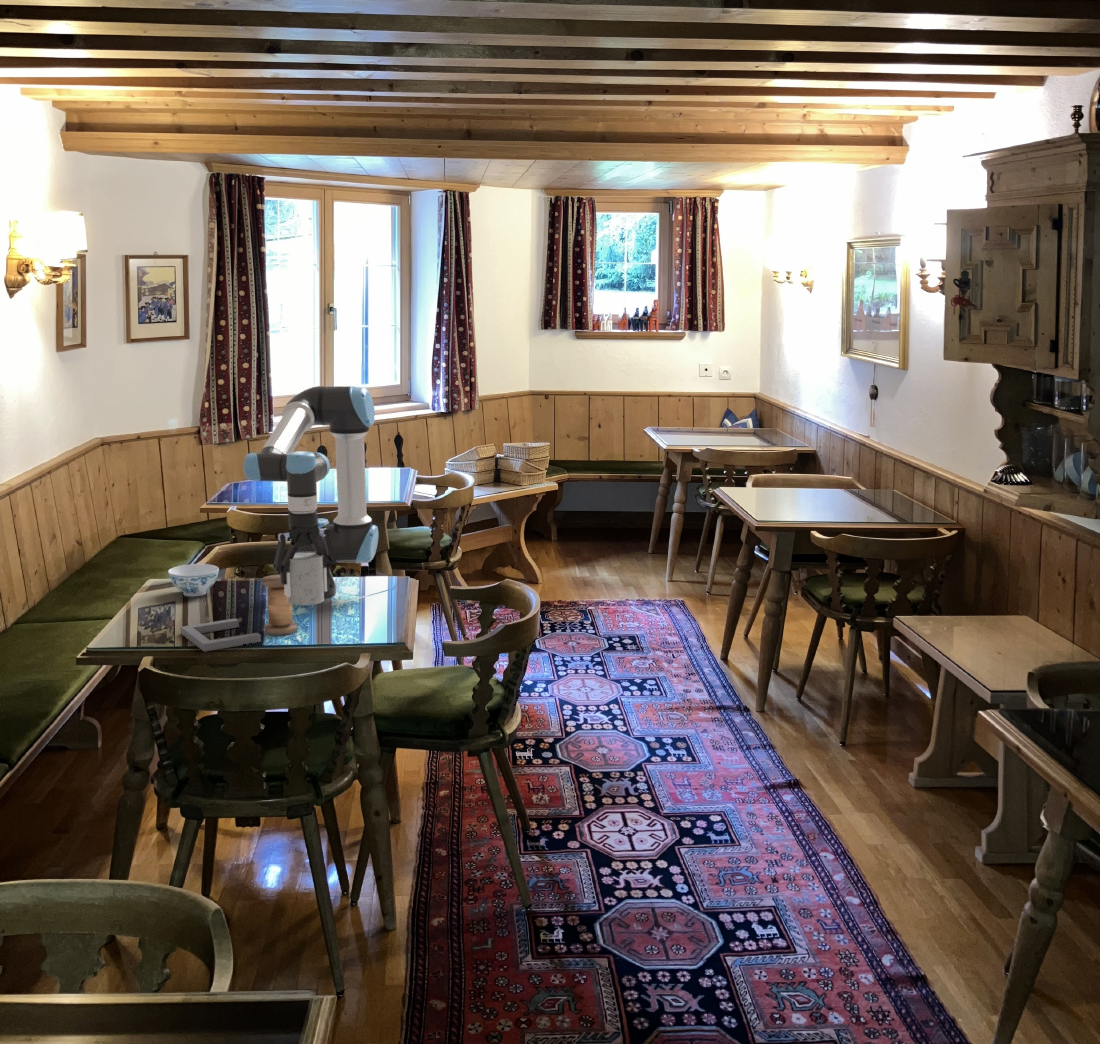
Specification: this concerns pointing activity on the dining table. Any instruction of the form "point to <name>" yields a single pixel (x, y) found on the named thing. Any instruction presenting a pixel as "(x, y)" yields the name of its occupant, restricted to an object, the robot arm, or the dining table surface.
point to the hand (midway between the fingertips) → (305, 593)
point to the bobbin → (278, 608)
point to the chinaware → (193, 578)
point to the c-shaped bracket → (207, 645)
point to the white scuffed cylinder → (306, 579)
